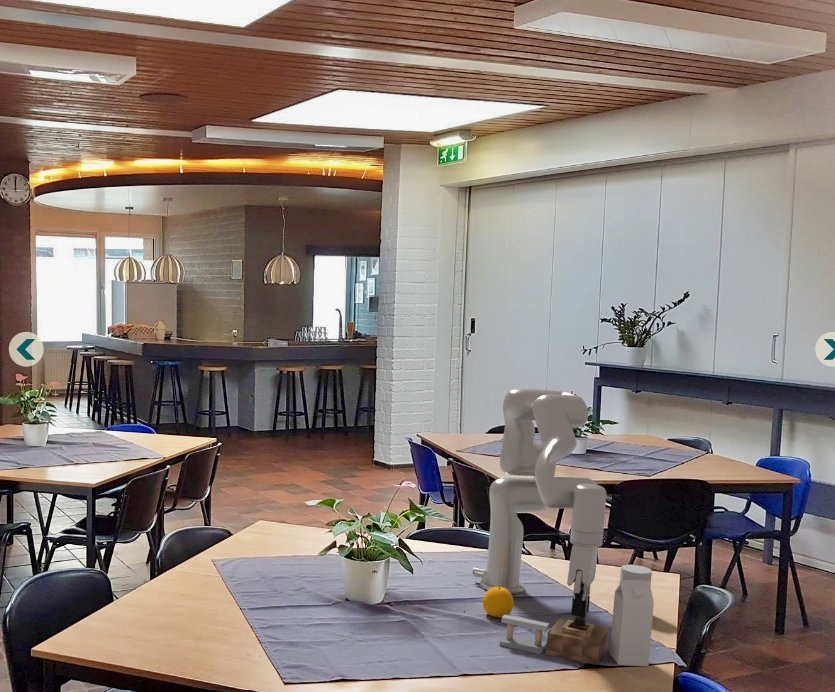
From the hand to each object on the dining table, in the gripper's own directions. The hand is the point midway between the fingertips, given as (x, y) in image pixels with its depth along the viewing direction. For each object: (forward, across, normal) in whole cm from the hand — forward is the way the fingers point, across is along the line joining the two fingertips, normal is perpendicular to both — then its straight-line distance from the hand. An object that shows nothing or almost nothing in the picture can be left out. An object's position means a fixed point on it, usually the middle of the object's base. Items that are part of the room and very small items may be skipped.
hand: (579, 613), depth 223 cm
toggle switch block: (+9, 0, 0) cm, 9 cm away
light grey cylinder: (+9, -38, +7) cm, 40 cm away
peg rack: (+9, +4, -12) cm, 16 cm away
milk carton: (+9, -1, +12) cm, 15 cm away
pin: (+3, 0, 0) cm, 3 cm away
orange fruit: (+9, -14, -24) cm, 29 cm away
